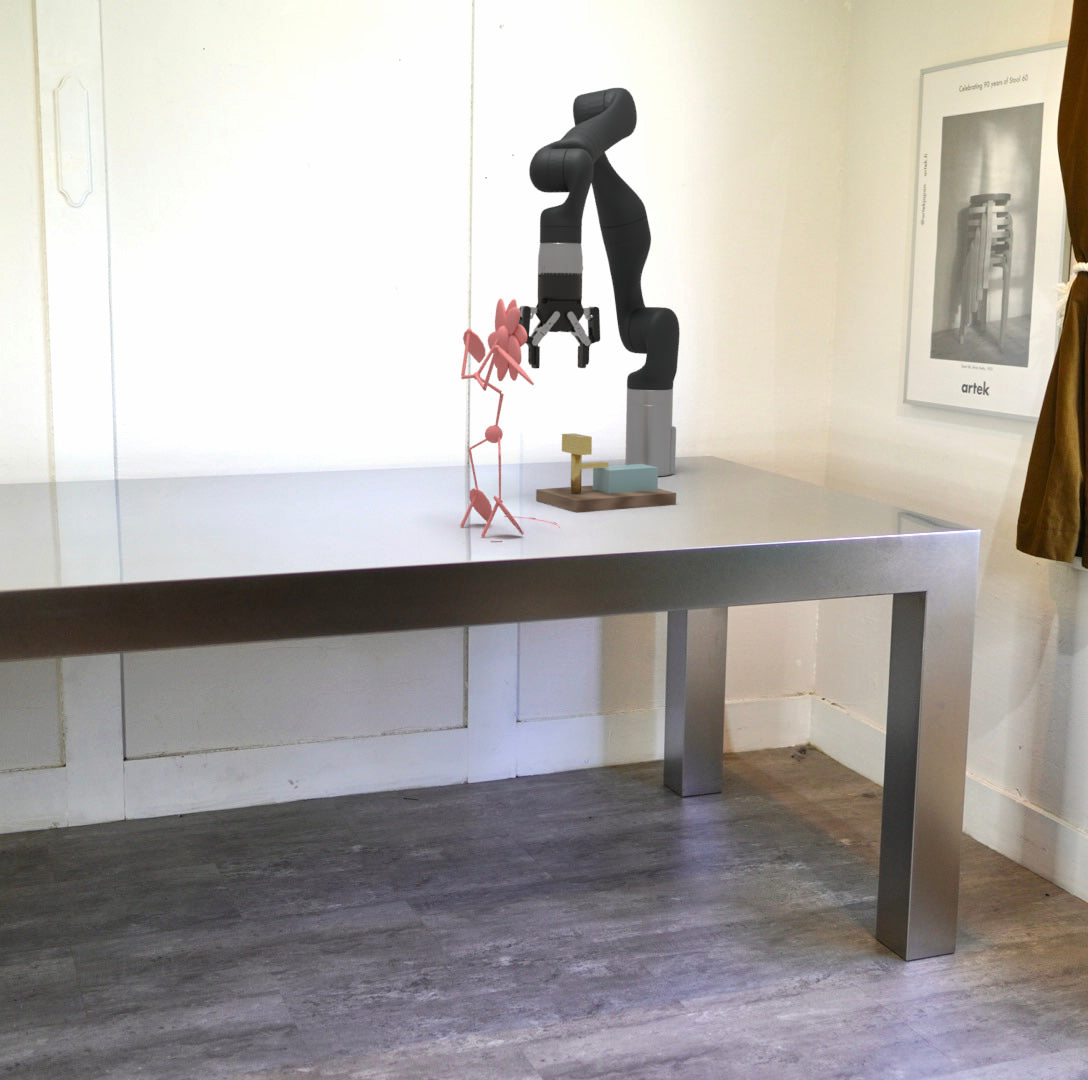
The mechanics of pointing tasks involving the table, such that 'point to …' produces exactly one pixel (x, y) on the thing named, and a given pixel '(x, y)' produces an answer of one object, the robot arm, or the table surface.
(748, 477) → the table surface
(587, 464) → the t key
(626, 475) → the cover
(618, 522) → the table surface
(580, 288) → the robot arm
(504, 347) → the pink stick flower
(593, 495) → the base
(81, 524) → the table surface
